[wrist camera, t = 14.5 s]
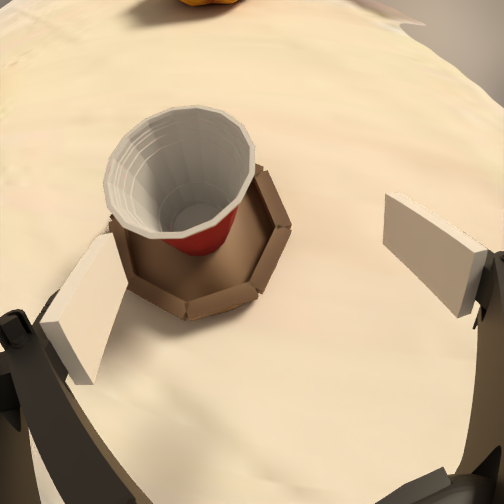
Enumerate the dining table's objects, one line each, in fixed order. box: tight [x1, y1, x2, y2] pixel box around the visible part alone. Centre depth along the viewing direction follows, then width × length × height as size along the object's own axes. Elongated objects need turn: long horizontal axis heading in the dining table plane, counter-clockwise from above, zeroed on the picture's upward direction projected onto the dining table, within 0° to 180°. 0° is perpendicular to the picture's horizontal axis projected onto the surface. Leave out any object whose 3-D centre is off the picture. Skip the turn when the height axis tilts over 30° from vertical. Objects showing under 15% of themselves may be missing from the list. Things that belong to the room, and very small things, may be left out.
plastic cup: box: [103, 105, 255, 256], centre depth 26 cm, size 11×11×12 cm
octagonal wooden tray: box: [109, 164, 292, 321], centre depth 31 cm, size 17×17×4 cm
